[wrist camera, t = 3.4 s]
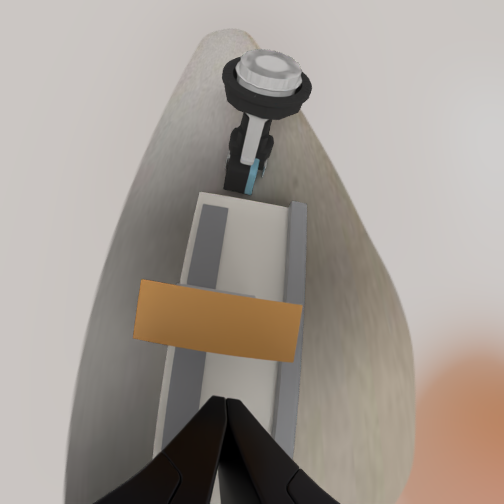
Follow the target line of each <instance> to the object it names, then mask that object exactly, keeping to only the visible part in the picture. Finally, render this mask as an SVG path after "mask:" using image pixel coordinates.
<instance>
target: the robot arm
mask: <svg viewBox="0 0 504 504" xmlns="http://www.w3.org/2000/svg"><path fill="white" fill-rule="evenodd" d="M217 469H218V478H219V490H220V500H221V504H340V503H339V502H337V501H336V500H335V499H334V498H332V497H331V496H330V495H329V494H328V493H326V492H325V491H324V490H323V489H322V488H320V487H319V486H318V485H317V484H316V483H315V482H314V481H313V480H312V479H311V478H310V477H309V476H308V475H307V474H306V473H305V472H304V471H303V470H302V469H299V466H298V465H297V464H296V463H295V462H294V461H293V460H292V459H291V458H290V456H289V455H288V454H287V453H286V452H285V451H284V450H283V449H282V448H281V447H280V446H279V444H278V443H277V442H276V441H275V440H274V439H273V438H272V437H271V435H270V434H269V433H268V432H267V431H266V430H265V429H264V427H263V426H262V425H261V424H260V423H259V422H258V420H257V419H256V418H255V417H254V416H253V414H252V413H251V412H250V411H249V410H248V409H247V407H246V406H245V405H244V404H243V403H242V401H241V400H239V399H234V398H227V399H226V398H225V397H221V396H215V395H212V396H211V397H210V398H209V399H208V400H207V401H206V403H205V404H204V405H203V406H202V407H201V408H200V409H199V410H198V412H197V413H196V414H195V415H194V416H193V417H192V418H191V419H190V420H189V422H188V423H187V424H186V425H185V426H184V427H183V428H182V429H181V430H180V431H179V432H178V434H177V435H176V436H175V437H174V438H173V439H172V440H171V441H170V442H169V443H168V444H167V445H166V446H165V447H164V449H163V450H162V451H161V452H159V453H158V454H157V455H156V456H155V457H154V459H153V460H151V461H150V462H149V463H148V464H147V465H146V466H145V467H144V468H143V469H142V470H141V471H139V472H138V473H137V474H135V475H134V476H133V477H131V478H130V479H129V480H127V481H126V482H125V483H123V484H122V485H120V486H119V487H117V488H116V489H114V490H113V491H111V492H110V493H108V494H107V495H105V496H104V497H102V498H101V499H99V500H98V501H96V502H95V503H93V504H210V501H211V497H212V492H213V488H214V483H215V479H216V474H217Z"/></svg>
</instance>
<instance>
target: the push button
mask: <svg viewBox="0 0 504 504" xmlns="http://www.w3.org/2000/svg"><path fill="white" fill-rule="evenodd" d="M222 80H223V83H224V84H225V91H226V96H227V101H228V102H229V103H230V104H231V105H232V106H234V107H235V108H236V109H237V110H239V111H242V112H244V113H243V118H242V121H241V125H240V126H239V127H238V128H235V129H234V130H233V131H232V133H231V136H230V142H229V152H228V155H227V160H226V165H225V169H226V167H227V171H226V177H225V183H224V189H226V190H230V191H235V192H239V193H244V194H249V195H251V194H252V190H253V185H254V182H255V178H256V175H257V170H263V173H262V178H263V176H264V173H265V169H266V166H267V160H268V158H269V156H270V153H271V150H272V147H273V144H274V140H273V137H272V136H271V135H269V131H270V125H271V122H272V119H273V120H280V119H282V118H285V117H287V116H290V115H293V114H295V113H298V112H299V110H300V108H301V106H302V103H304V102H305V101H306V100H307V99H308V98H309V95H310V93H311V90H312V85H311V82H310V80H309V78H308V77H307V76H306V75H305V74H304V73H303V72H302V70H301V67H300V64H299V63H298V62H296V61H295V60H294V59H293V58H291V57H290V56H288V55H285V54H283V53H280V52H276V51H272V50H265V49H255V50H251V51H247V52H246V53H244V54H243V55H242V56H241V57H238V58H235V59H233V60H231V61H229V62H228V63H227V64H226V65H225V67H224V69H223V74H222ZM228 159H229V162H228ZM227 164H228V166H227Z"/></svg>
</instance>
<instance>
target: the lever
mask: <svg viewBox="0 0 504 504" xmlns="http://www.w3.org/2000/svg"><path fill="white" fill-rule="evenodd" d="M302 307H303V305H298V304H292V303H285V302H278V301H271V300H265V299H258V298H256V297H255V296H254V295H248V294H241V293H235V292H229V291H223V290H216V289H210V288H204V287H199V286H193V285H187V284H181V283H176V285H173V284H167V283H162V282H156V281H151V280H145V279H141V284H140V291H139V297H138V304H137V311H136V318H135V325H134V333H133V338H134V339H139V340H144V341H148V342H153V343H159V344H164V345H169V346H175V347H180V348H186V349H192V350H198V351H204V352H210V353H217V354H224V355H231V356H238V357H246V358H254V359H262V360H271V361H281V362H291V363H293V362H294V356H295V350H296V344H297V338H298V332H299V326H300V320H301V313H302Z"/></svg>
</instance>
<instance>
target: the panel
mask: <svg viewBox="0 0 504 504" xmlns="http://www.w3.org/2000/svg"><path fill="white" fill-rule="evenodd" d="M306 240H307V204H306V203H301V202H296V201H291V203H290V206H289V208H288V207H283V206H278V205H272V204H267V203H262V202H256V201H251V200H246V199H240V198H234V197H229V196H223V195H217V194H211V193H205V192H199V196H198V201H197V205H196V209H195V213H194V218H193V222H192V226H191V231H190V235H189V240H188V245H187V249H186V254H185V259H184V263H183V268H182V273H181V278H180V283H181V284H187V285H193V286H199V287H204V288H210V289H216V290H223V291H229V292H235V293H241V294H248V295H254V296H255V297H256V298H258V299H265V300H271V301H278V302H285V303H292V304H298V305H303V307H302V313H301V320H300V326H299V332H298V338H297V344H296V350H295V356H294V362H293V363H291V362H281V361H271V360H262V359H254V358H246V357H238V356H231V355H224V354H217V353H210V352H204V351H198V350H192V349H186V348H180V347H175V346H169V345H168V349H167V355H166V361H165V367H164V374H163V380H162V387H161V394H160V401H159V408H158V416H157V423H156V431H155V440H154V448H153V458H152V460H153V459H154V457H155V456H156V455H157V454H158V453H159V452H161V451H162V450H163V449H164V447H165V446H166V445H167V444H168V443H169V442H170V441H171V440H172V439H173V438H174V437H175V436H176V435H177V434H178V432H179V431H180V430H181V429H182V428H183V427H184V426H185V425H186V424H187V423H188V422H189V420H190V419H191V418H192V417H193V416H194V415H195V414H196V413H197V412H198V410H199V409H200V408H201V407H202V406H203V405H204V404H205V403H206V401H207V400H208V399H209V398H210V397H211V396H212V395H215V396H221V397H225V398H226V399H227V398H234V399H239V400H241V401H242V403H243V404H244V405H245V406H246V407H247V409H248V410H249V411H250V412H251V413H252V414H253V416H254V417H255V418H256V419H257V420H258V422H259V423H260V424H261V425H262V426H263V427H264V429H265V430H266V431H267V432H268V433H269V434H270V435H271V437H272V438H273V439H274V440H275V441H276V442H277V443H278V444H279V446H280V447H281V448H282V449H283V450H284V451H285V452H286V453H287V454H288V455H289V456H290V458H291V459H292V460H293V452H294V442H295V432H296V422H297V410H298V399H299V386H300V372H301V358H302V342H303V324H304V303H305V277H306ZM210 504H221V500H220V490H219V478H218V469H217V474H216V479H215V483H214V488H213V492H212V497H211V501H210Z"/></svg>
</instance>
